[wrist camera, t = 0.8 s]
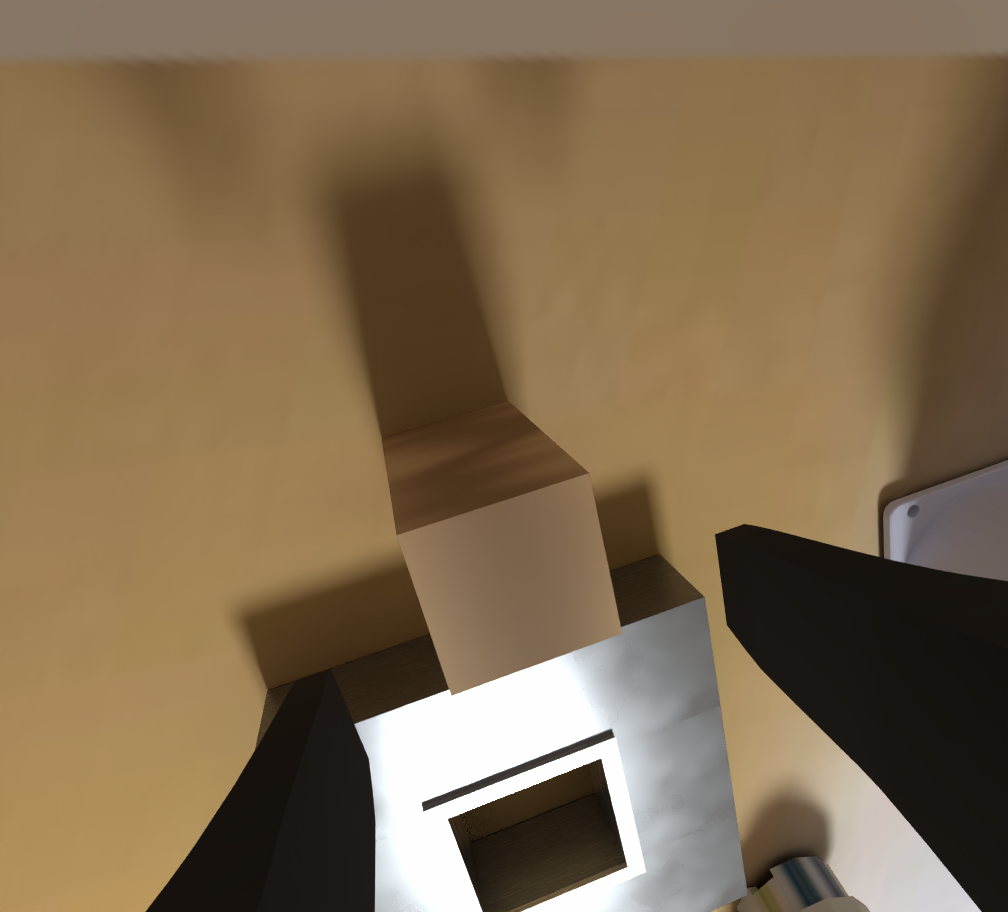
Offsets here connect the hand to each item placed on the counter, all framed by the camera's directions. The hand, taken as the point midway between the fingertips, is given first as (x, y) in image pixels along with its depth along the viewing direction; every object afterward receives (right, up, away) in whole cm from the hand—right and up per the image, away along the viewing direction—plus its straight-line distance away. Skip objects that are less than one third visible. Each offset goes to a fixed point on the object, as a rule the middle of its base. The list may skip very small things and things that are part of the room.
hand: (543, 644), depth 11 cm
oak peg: (-2, +3, +8) cm, 9 cm away
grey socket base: (0, -9, +12) cm, 15 cm away
